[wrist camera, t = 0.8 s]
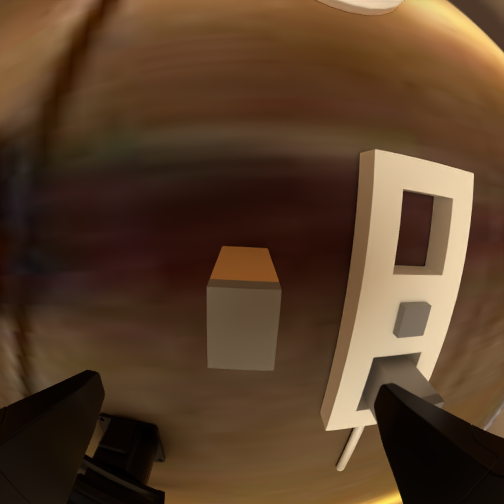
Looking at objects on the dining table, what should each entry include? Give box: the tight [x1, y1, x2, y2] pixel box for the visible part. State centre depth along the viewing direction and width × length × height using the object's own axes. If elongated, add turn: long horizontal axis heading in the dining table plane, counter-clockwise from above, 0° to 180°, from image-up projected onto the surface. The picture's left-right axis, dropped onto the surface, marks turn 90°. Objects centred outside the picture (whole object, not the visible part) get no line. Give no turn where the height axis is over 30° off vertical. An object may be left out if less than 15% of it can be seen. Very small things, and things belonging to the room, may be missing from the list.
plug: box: [207, 246, 282, 371], centre depth 16 cm, size 4×3×8 cm
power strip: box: [320, 149, 474, 471], centre depth 20 cm, size 32×9×3 cm, turn 177°
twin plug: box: [362, 354, 445, 424], centre depth 18 cm, size 4×3×8 cm
